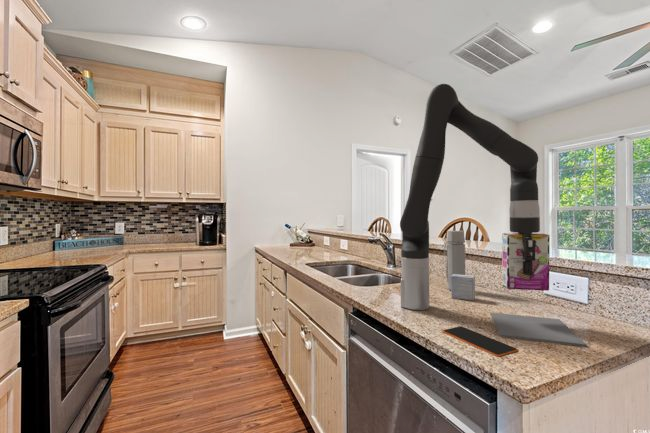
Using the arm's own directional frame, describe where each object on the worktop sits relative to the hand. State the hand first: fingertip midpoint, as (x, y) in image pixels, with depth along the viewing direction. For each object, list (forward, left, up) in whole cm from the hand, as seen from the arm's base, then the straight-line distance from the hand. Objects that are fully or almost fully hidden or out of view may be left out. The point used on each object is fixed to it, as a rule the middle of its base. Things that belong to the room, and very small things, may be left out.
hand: (525, 272), depth 90 cm
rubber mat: (0, -7, -14) cm, 16 cm away
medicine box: (-16, +21, -15) cm, 30 cm away
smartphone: (-15, -21, -15) cm, 29 cm away
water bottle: (-19, +34, -15) cm, 42 cm away
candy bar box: (0, 0, -5) cm, 5 cm away
